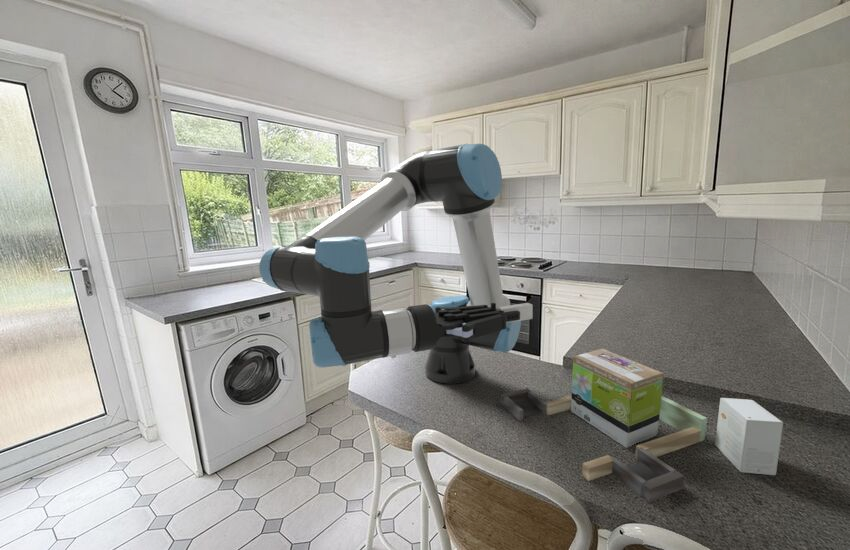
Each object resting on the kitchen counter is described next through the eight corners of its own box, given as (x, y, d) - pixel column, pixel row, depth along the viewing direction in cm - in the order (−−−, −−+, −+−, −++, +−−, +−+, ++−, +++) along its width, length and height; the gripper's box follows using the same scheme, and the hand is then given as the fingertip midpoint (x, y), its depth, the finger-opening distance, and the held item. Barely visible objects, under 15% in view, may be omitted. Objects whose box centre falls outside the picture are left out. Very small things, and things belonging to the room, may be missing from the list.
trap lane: (500, 403, 89) (500, 385, 88) (596, 380, 99) (597, 364, 98) (621, 513, 56) (623, 486, 55) (746, 462, 66) (749, 438, 65)
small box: (776, 476, 63) (785, 422, 61) (739, 473, 64) (747, 420, 62) (745, 447, 70) (753, 398, 68) (713, 444, 71) (719, 396, 70)
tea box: (568, 412, 84) (571, 354, 82) (599, 402, 88) (602, 346, 86) (627, 450, 71) (632, 381, 68) (659, 436, 75) (665, 371, 72)
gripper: (399, 338, 65) (510, 320, 72) (423, 367, 52) (553, 341, 60) (397, 298, 63) (510, 284, 71) (421, 318, 51) (554, 299, 59)
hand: (530, 310), depth 66 cm, fingers closed
